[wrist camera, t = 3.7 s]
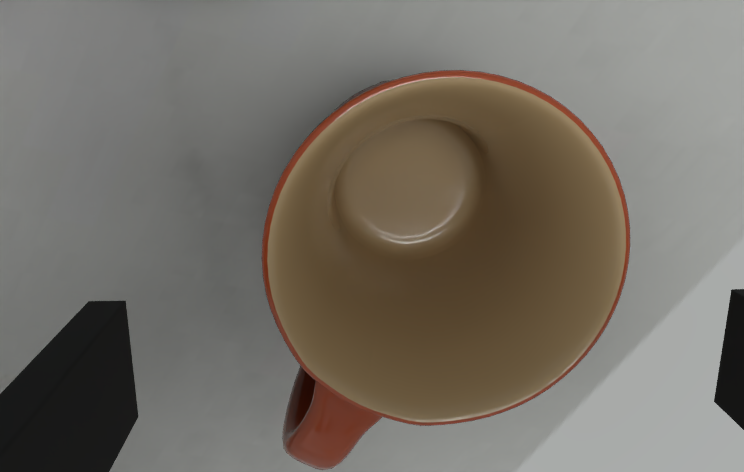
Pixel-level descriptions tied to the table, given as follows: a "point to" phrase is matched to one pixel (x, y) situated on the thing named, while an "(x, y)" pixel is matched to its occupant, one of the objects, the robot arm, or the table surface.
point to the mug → (439, 256)
